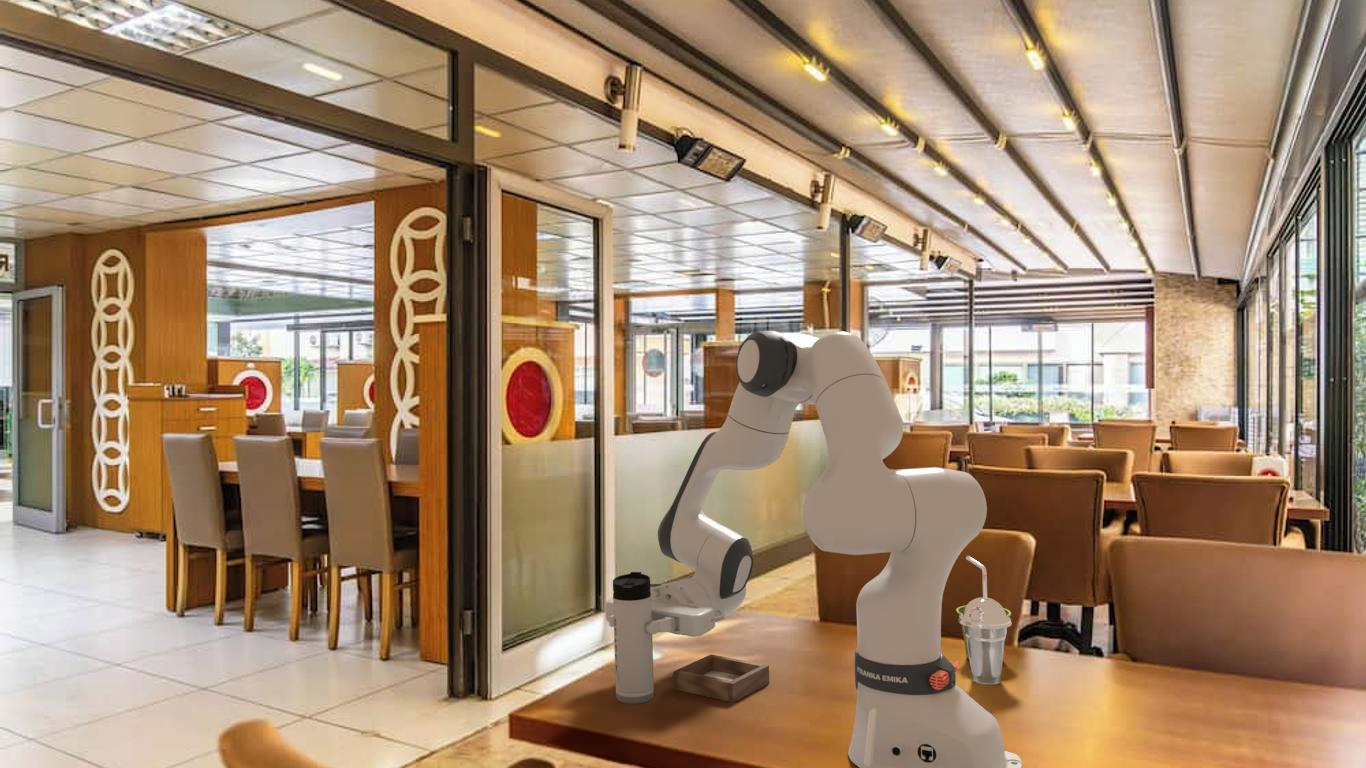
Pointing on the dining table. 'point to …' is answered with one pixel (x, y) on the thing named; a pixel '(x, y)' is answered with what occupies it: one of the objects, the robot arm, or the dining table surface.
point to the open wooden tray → (721, 677)
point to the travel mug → (633, 638)
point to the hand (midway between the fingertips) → (629, 625)
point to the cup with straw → (985, 634)
